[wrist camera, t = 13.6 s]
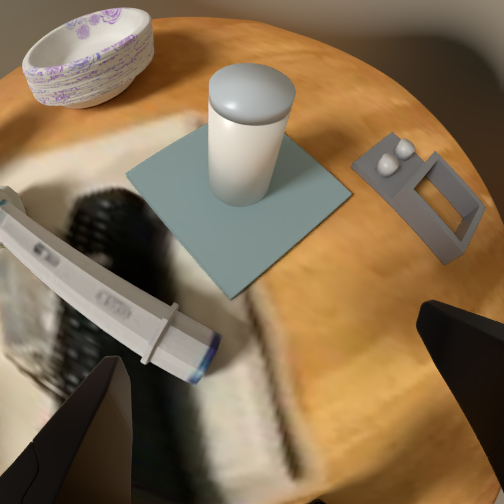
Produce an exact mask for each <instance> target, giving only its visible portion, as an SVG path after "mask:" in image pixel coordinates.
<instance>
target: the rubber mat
mask: <svg viewBox="0 0 504 504" xmlns="http://www.w3.org/2000/svg"><path fill="white" fill-rule="evenodd" d="M125 174H126V176H127V178H128V179H129V181H130V182H131V183H132V184H133V186H134V187H135V188H136V189H137V191H138V192H139V193H140V194H141V196H142V197H143V198H144V199H145V201H146V202H147V203H148V204H149V206H150V207H151V208H152V209H153V210H154V212H155V213H156V214H157V215H158V217H159V218H160V219H161V220H162V221H163V223H164V224H165V225H166V226H167V227H168V229H169V230H170V231H171V232H172V233H173V235H174V236H175V237H176V238H177V239H178V241H179V242H180V243H181V244H182V245H183V246H184V248H185V249H186V250H187V251H188V252H189V253H190V255H191V256H192V257H193V258H194V259H195V260H196V262H197V263H198V264H199V265H200V266H201V267H202V269H203V270H204V271H205V272H206V273H207V274H208V275H209V277H210V278H211V279H212V280H213V281H214V282H215V283H216V285H217V286H218V287H219V288H220V289H221V290H222V291H223V293H224V294H225V295H226V296H227V297H228V298H229V299H230V300H232V299H233V298H234V297H235V296H237V295H238V294H239V293H240V292H241V291H243V290H244V289H245V288H246V287H247V286H248V285H250V284H251V283H252V282H253V281H254V280H255V279H257V278H258V277H259V276H260V275H261V274H263V273H264V272H265V271H266V270H267V269H268V268H270V267H271V266H272V265H273V264H274V263H275V262H276V261H278V260H279V259H280V258H281V257H282V256H283V255H285V254H286V253H287V252H288V251H289V250H290V249H291V248H293V247H294V246H295V245H296V244H297V243H298V242H300V241H301V240H302V239H303V238H304V237H305V236H306V235H308V234H309V233H310V232H311V231H312V230H313V229H314V228H316V227H317V226H318V225H319V224H320V223H321V222H322V221H323V220H325V219H326V218H327V217H328V216H329V215H330V214H331V213H333V212H334V211H335V210H336V209H337V208H338V207H339V206H340V205H342V204H343V203H344V202H345V201H346V200H347V199H348V198H349V197H350V196H351V195H352V193H351V192H350V191H349V190H348V189H347V188H345V187H344V186H343V185H342V184H341V183H340V182H339V181H338V180H337V179H336V178H335V177H334V176H333V175H332V174H330V173H329V172H328V171H327V170H326V169H325V168H324V167H323V166H322V165H321V164H319V163H318V162H317V161H316V160H315V159H314V158H313V157H312V156H310V155H309V154H308V153H307V152H306V151H305V150H303V149H302V148H301V147H300V146H299V145H298V144H296V143H295V142H294V141H293V140H292V139H291V138H289V137H288V136H287V135H286V134H285V133H284V136H283V139H282V143H281V146H280V150H279V153H278V156H277V160H276V163H275V167H274V170H273V174H272V177H271V181H270V184H269V188H268V191H267V193H266V195H265V196H264V197H263V198H262V199H261V200H260V201H259V202H257V203H255V204H253V205H250V206H245V207H235V206H231V205H227V204H225V203H223V202H221V201H220V200H218V199H217V198H216V197H215V196H214V195H213V193H212V192H211V190H210V187H209V174H208V123H207V124H205V125H204V126H202V127H200V128H198V129H196V130H195V131H193V132H191V133H189V134H188V135H186V136H184V137H182V138H181V139H179V140H177V141H176V142H174V143H172V144H171V145H169V146H167V147H166V148H164V149H162V150H161V151H159V152H158V153H156V154H154V155H153V156H151V157H150V158H148V159H146V160H145V161H143V162H142V163H140V164H139V165H137V166H136V167H134V168H133V169H131V170H130V171H128V172H127V173H125Z"/></svg>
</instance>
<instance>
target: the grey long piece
mask: <svg viewBox="0 0 504 504" xmlns="http://www.w3.org/2000/svg"><path fill="white" fill-rule="evenodd" d="M0 248H8V249H9V250H10V251H11V252H12V253H13V254H14V255H15V256H16V257H17V258H18V259H19V260H20V261H21V262H22V263H23V264H24V265H25V266H26V267H27V268H28V269H30V270H31V271H32V272H33V273H34V274H35V275H36V276H37V277H38V278H39V279H41V280H42V281H43V282H44V283H45V284H46V285H47V286H49V287H50V288H51V289H52V290H53V291H54V292H56V293H57V294H58V295H59V296H60V297H62V298H63V299H64V300H65V301H66V302H68V303H69V304H70V305H71V306H73V307H74V308H75V309H76V310H78V311H79V312H80V313H82V314H83V315H84V316H85V317H87V318H88V319H89V320H91V321H92V322H93V323H95V324H96V325H97V326H99V327H100V328H101V329H103V330H104V331H106V332H107V333H108V334H110V335H111V336H113V337H114V338H115V339H117V340H118V341H120V342H121V343H123V344H124V345H126V346H127V347H128V348H130V349H131V350H133V351H134V352H136V353H137V354H139V355H141V356H142V359H141V362H142V363H143V364H147V363H149V361H150V362H152V363H154V364H155V365H157V366H159V367H161V368H162V369H164V370H166V371H168V372H169V373H171V374H173V375H175V376H177V377H178V378H180V379H182V380H184V381H186V382H188V383H190V384H192V385H193V386H196V385H197V384H198V382H199V381H200V379H201V378H202V376H203V375H204V374H205V372H206V370H207V368H208V366H209V364H210V363H211V361H212V359H213V357H214V355H215V353H216V351H217V349H218V347H219V344H220V341H221V339H222V335H220V334H218V333H216V332H215V331H213V330H211V329H209V328H207V327H206V326H204V325H202V324H200V323H198V322H197V321H195V320H193V319H191V318H190V317H188V316H186V315H184V314H183V313H181V312H179V311H178V309H179V305H178V304H176V303H175V302H174V303H173V305H172V306H169V305H167V304H165V303H163V302H162V301H160V300H158V299H156V298H155V297H153V296H151V295H149V294H148V293H146V292H144V291H142V290H141V289H139V288H137V287H135V286H134V285H132V284H130V283H129V282H127V281H125V280H124V279H122V278H120V277H119V276H117V275H115V274H114V273H112V272H111V271H109V270H107V269H106V268H104V267H102V266H101V265H99V264H98V263H96V262H94V261H93V260H91V259H90V258H88V257H87V256H85V255H84V254H82V253H80V252H79V251H77V250H76V249H74V248H73V247H71V246H70V245H68V244H67V243H65V242H64V241H62V240H61V239H59V238H58V237H57V236H55V235H54V234H52V233H51V232H49V231H48V230H46V229H45V228H44V227H42V226H41V225H39V224H38V223H36V222H35V221H34V220H32V219H31V218H30V217H28V216H27V213H26V208H25V207H24V206H23V203H22V200H21V197H20V196H19V195H18V193H16V192H15V191H14V190H13V189H11V188H10V187H9V186H0Z"/></svg>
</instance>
